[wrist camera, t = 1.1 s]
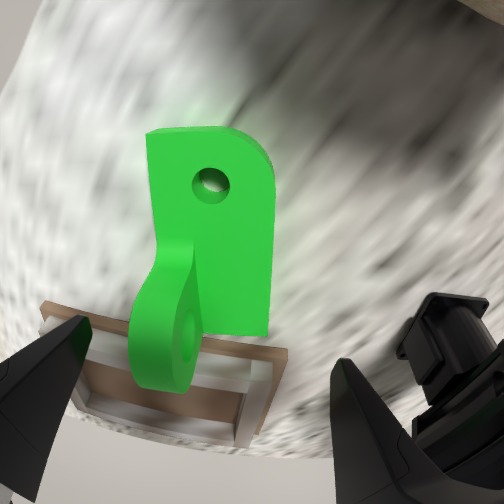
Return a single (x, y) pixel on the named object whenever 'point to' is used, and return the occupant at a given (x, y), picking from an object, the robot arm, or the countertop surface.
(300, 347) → the countertop surface
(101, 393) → the keyed nest
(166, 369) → the mechanical part
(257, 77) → the countertop surface
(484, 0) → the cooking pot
